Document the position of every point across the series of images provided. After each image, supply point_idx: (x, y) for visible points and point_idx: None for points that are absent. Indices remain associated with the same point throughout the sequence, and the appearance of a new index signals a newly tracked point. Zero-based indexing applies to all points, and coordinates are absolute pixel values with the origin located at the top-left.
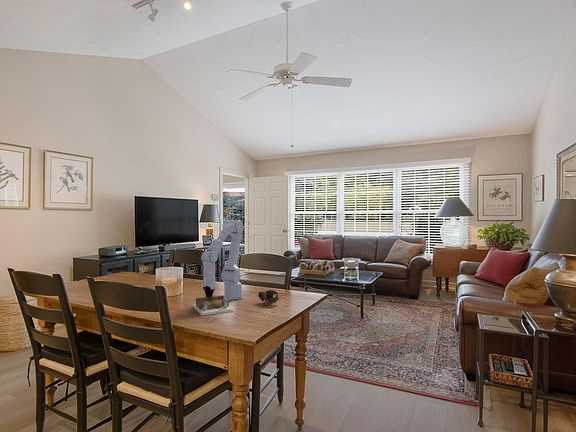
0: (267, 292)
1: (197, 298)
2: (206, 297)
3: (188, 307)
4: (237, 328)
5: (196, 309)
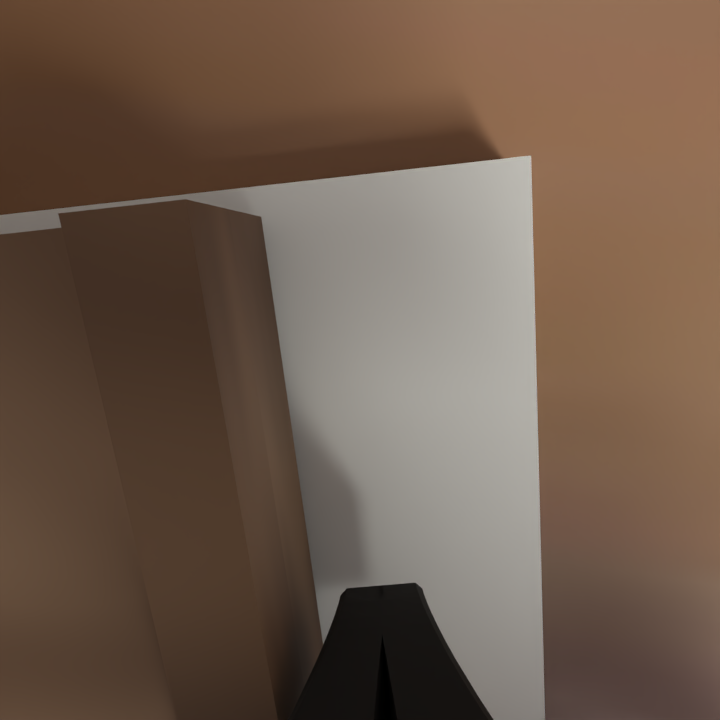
0: None
1: (120, 269)
2: (206, 665)
3: (441, 26)
4: None
5: None
